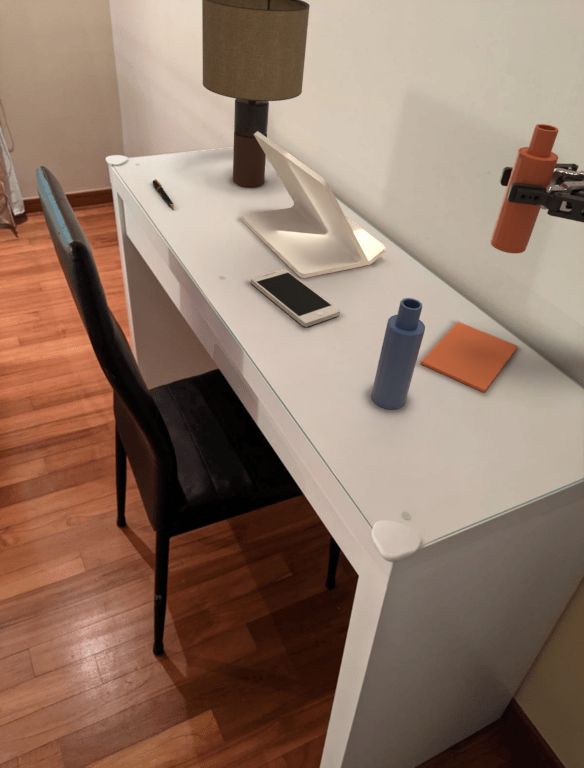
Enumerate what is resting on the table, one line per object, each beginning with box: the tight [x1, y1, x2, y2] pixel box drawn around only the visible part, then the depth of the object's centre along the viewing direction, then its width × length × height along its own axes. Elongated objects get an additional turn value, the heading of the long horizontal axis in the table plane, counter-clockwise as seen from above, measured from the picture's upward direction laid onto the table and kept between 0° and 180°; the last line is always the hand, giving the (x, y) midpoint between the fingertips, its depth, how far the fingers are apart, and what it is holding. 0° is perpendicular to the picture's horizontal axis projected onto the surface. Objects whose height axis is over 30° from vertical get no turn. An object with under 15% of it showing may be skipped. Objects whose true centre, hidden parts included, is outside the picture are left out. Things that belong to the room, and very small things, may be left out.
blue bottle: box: [371, 297, 426, 410], centre depth 78 cm, size 5×5×15 cm
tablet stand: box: [240, 131, 387, 279], centre depth 112 cm, size 18×25×17 cm
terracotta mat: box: [420, 321, 519, 393], centre depth 92 cm, size 10×14×1 cm
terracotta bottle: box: [490, 123, 559, 254], centre depth 76 cm, size 5×5×15 cm
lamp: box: [201, 0, 311, 189], centre depth 126 cm, size 20×20×35 cm
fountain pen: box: [152, 178, 175, 208], centre depth 126 cm, size 14×1×2 cm, turn 27°
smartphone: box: [250, 268, 341, 328], centre depth 100 cm, size 7×16×1 cm, turn 37°
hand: (506, 184), depth 75 cm, fingers closed on terracotta bottle, 4 cm apart
